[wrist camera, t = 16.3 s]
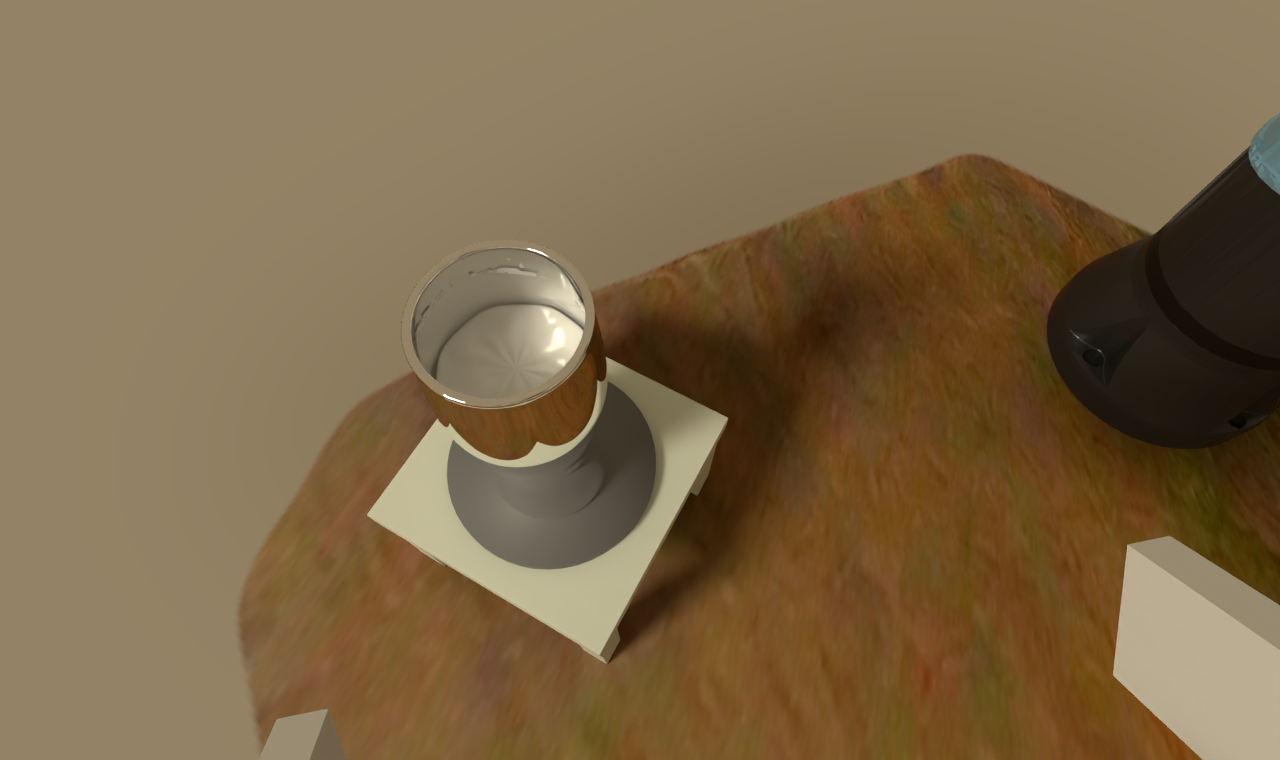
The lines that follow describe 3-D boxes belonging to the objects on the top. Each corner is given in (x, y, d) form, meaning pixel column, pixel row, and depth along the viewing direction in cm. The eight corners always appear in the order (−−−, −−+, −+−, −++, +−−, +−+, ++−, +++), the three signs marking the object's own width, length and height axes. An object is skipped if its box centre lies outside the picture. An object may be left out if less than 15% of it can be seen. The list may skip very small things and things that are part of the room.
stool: (712, 474, 48) (729, 413, 39) (608, 669, 43) (598, 654, 33) (537, 384, 51) (514, 306, 42) (420, 555, 46) (362, 512, 36)
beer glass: (560, 378, 40) (517, 201, 26) (643, 468, 37) (643, 325, 24) (457, 457, 38) (353, 310, 24) (539, 557, 35) (474, 455, 22)
